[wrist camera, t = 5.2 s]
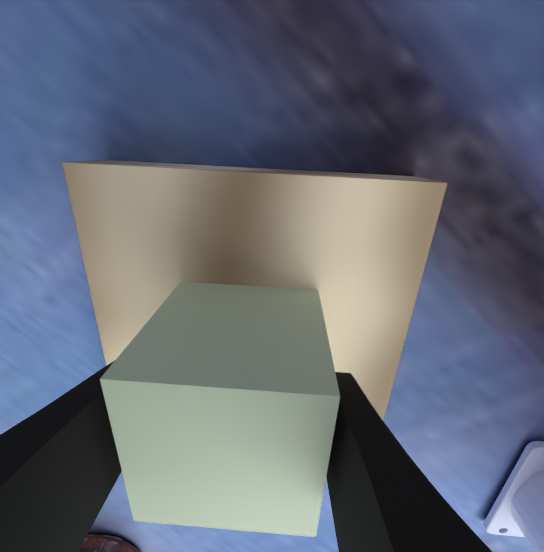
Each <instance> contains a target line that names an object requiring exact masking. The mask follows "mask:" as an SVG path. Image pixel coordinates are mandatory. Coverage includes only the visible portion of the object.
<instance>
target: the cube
mask: <svg viewBox="0 0 544 552" xmlns="http://www.w3.org/2000/svg"><path fill="white" fill-rule="evenodd" d="M100 382H101V386H102V391H103V395H104V399H105V403H106V407H107V411H108V415H109V420H110V424H111V428H112V432H113V436H114V440H115V445H116V449H117V453H118V457H119V461H120V465H121V470H122V474H123V478H124V482H125V486H126V490H127V494H128V499H129V503H130V507H131V511H132V515H133V519H134V521H141V522H152V523H163V524H175V525H186V526H197V527H208V528H220V529H231V530H242V531H253V532H265V533H276V534H287V535H298V536H310V537H316V533H317V527H318V521H319V516H320V510H321V504H322V498H323V493H324V487H325V481H326V476H327V470H328V464H329V458H330V453H331V447H332V441H333V435H334V430H335V424H336V418H337V412H338V407H339V401H340V393H339V388H338V383H337V378H336V373H335V369H334V364H333V359H332V354H331V349H330V344H329V340H328V335H327V330H326V325H325V320H324V315H323V311H322V306H321V301H320V296H319V291H318V290H310V289H294V288H278V287H261V286H245V285H229V284H213V283H196V282H180V283H179V284H178V285H177V287H176V288H175V289H174V290H173V291H172V293H171V294H170V295H169V296H168V297H167V299H166V300H165V301H164V302H163V303H162V305H161V306H160V307H159V308H158V309H157V311H156V312H155V313H154V314H153V316H152V317H151V318H150V319H149V320H148V322H147V323H146V324H145V325H144V326H143V328H142V329H141V330H140V331H139V332H138V334H137V335H136V336H135V337H134V338H133V340H132V341H131V342H130V343H129V344H128V346H127V347H126V348H125V349H124V350H123V352H122V353H121V354H120V355H119V356H118V358H117V359H116V360H115V361H114V362H113V364H112V365H111V366H110V367H109V368H108V370H107V371H106V372H105V373H104V374H103V376H102V377H101V378H100Z"/></svg>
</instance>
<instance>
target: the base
mask: <svg viewBox="0 0 544 552" xmlns="http://www.w3.org/2000/svg"><path fill="white" fill-rule="evenodd" d="M62 165H63V169H64V174H65V178H66V183H67V187H68V192H69V197H70V201H71V206H72V210H73V215H74V219H75V224H76V229H77V233H78V238H79V242H80V247H81V251H82V256H83V261H84V265H85V270H86V274H87V279H88V284H89V288H90V293H91V297H92V302H93V306H94V311H95V316H96V320H97V325H98V329H99V334H100V338H101V343H102V348H103V352H104V357H105V361H106V366H107V365H108V364H110V363H111V362H113V361H115V360H116V359H117V358H118V356H119V355H120V354H121V353H122V352H123V350H124V349H125V348H126V347H127V346H128V344H129V343H130V342H131V341H132V340H133V338H134V337H135V336H136V335H137V334H138V332H139V331H140V330H141V329H142V328H143V326H144V325H145V324H146V323H147V322H148V320H149V319H150V318H151V317H152V316H153V314H154V313H155V312H156V311H157V309H158V308H159V307H160V306H161V305H162V303H163V302H164V301H165V300H166V299H167V297H168V296H169V295H170V294H171V293H172V291H173V290H174V289H175V288H176V287H177V285H178V284H179V283H180V282H196V283H213V284H229V285H245V286H261V287H278V288H294V289H310V290H318V291H319V296H320V301H321V306H322V311H323V315H324V320H325V325H326V330H327V335H328V340H329V344H330V349H331V354H332V359H333V364H334V369H335V372H343V373H351V374H352V375H353V376H354V378H355V380H356V381H357V383H358V384H359V386H360V387H361V389H362V390H363V392H364V394H365V395H366V397H367V398H368V400H369V401H370V403H371V404H372V406H373V407H374V409H375V410H376V411H377V413H378V414H379V416H380V417H381V419H382V420H384V417H385V413H386V409H387V405H388V402H389V398H390V394H391V391H392V387H393V383H394V379H395V376H396V372H397V368H398V365H399V361H400V357H401V353H402V350H403V346H404V342H405V339H406V335H407V331H408V327H409V324H410V320H411V316H412V313H413V309H414V305H415V301H416V298H417V294H418V290H419V287H420V283H421V279H422V275H423V272H424V268H425V264H426V261H427V257H428V253H429V249H430V246H431V242H432V238H433V235H434V231H435V227H436V223H437V220H438V216H439V212H440V209H441V205H442V201H443V197H444V194H445V190H446V186H447V183H445V182H440V181H435V180H430V179H426V178H421V177H416V176H399V175H380V174H362V173H343V172H324V171H305V170H286V169H267V168H248V167H229V166H210V165H191V164H172V163H153V162H135V161H116V160H98V161H80V162H62Z"/></svg>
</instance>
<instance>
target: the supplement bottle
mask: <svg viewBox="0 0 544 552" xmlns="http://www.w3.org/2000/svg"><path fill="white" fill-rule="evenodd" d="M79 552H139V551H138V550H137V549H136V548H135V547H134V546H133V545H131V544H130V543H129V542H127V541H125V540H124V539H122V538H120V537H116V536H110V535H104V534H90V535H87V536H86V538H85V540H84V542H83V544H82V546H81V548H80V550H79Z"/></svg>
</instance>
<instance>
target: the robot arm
mask: <svg viewBox="0 0 544 552" xmlns="http://www.w3.org/2000/svg"><path fill="white" fill-rule="evenodd" d="M113 362H114V361H113ZM113 362H111V363H110V364H108V365H107V366H105V367H104V368H102V369H101V370H99V371H98V372H97V373H95V374H94V375H92V376H91V377H89V378H88V379H86V380H85V381H83V382H82V383H80V384H79V385H77V386H76V387H74V388H73V389H71V390H70V391H68V392H67V393H65V394H64V395H62V396H61V397H59V398H58V399H56V400H55V401H53V402H52V403H50V404H49V405H47V406H46V407H44V408H43V409H41V410H40V411H38V412H36V413H35V414H33V415H31V416H30V417H28V418H27V419H25V420H23V421H22V422H20V423H19V424H17V425H15V426H14V427H12V428H11V429H9V430H7V431H6V432H4V433H3V434H1V435H0V552H79V550H80V548H81V546H82V544H83V542H84V540H85V538H86V536H87V534H88V532H89V530H90V528H91V526H92V524H93V523H94V521H95V519H96V517H97V515H98V513H99V512H100V510H101V508H102V506H103V504H104V502H105V501H106V499H107V497H108V495H109V493H110V491H111V490H112V488H113V486H114V484H115V482H116V480H117V478H118V477H119V475H120V473H121V471H122V470H121V465H120V461H119V457H118V453H117V449H116V445H115V440H114V436H113V432H112V428H111V424H110V420H109V415H108V411H107V407H106V403H105V399H104V395H103V391H102V386H101V382H100V378H101V377H102V376H103V374H104V373H105V372H106V371H107V370H108V368H109V367H110V366H111V365H112V364H113ZM335 373H336V378H337V383H338V388H339V393H340V401H339V407H338V412H337V418H336V424H335V430H334V435H333V441H332V447H331V453H330V458H329V464H328V470H327V482H328V489H329V495H330V501H331V507H332V513H333V519H334V525H335V531H336V537H337V543H338V549H339V552H492V551H491V550H490V549H489V548H488V547H487V546H486V545H485V544H484V543H483V542H482V540H481V539H480V538H479V537H478V536H477V535H476V534H475V533H474V532H473V531H472V530H471V529H470V527H469V526H468V525H467V524H466V523H465V522H464V521H463V520H462V519H461V517H460V516H459V515H458V514H457V513H456V512H455V511H454V510H453V508H452V507H451V506H450V505H449V504H448V503H447V502H446V500H445V499H444V498H443V497H442V496H441V495H440V493H439V492H438V491H437V490H436V489H435V487H434V486H433V485H432V484H431V483H430V482H429V480H428V479H427V478H426V477H425V475H424V474H423V473H422V472H421V470H420V469H419V468H418V467H417V465H416V464H415V463H414V462H413V460H412V459H411V458H410V457H409V455H408V454H407V453H406V451H405V450H404V449H403V447H402V446H401V445H400V443H399V442H398V441H397V439H396V438H395V437H394V435H393V434H392V432H391V431H390V430H389V428H388V427H387V426H386V424H385V423H384V422H383V420H382V419H381V417H380V416H379V414H378V413H377V411H376V410H375V409H374V407H373V406H372V404H371V403H370V401H369V400H368V398H367V397H366V395H365V394H364V392H363V390H362V389H361V387H360V386H359V384H358V383H357V381H356V380H355V378H354V376H353V375H352V374H351V373H343V372H335ZM483 525H484V527H485V529H486V531H487V532H488V533H490V534H497V535H508V536H519V537H525V538H526V540H527V541H528V543H529V545H530V546H531V548H532V550H533V551H534V552H544V441H533V442H530V443H529V444H528V445H527V446H526V447H525V449H524V451H523V453H522V454H521V456H520V458H519V460H518V462H517V463H516V465H515V467H514V469H513V471H512V472H511V474H510V476H509V478H508V480H507V481H506V483H505V485H504V487H503V488H502V490H501V492H500V494H499V496H498V497H497V499H496V501H495V503H494V505H493V506H492V508H491V510H490V512H489V514H488V515H487V517H486V519H485V521H484V523H483Z"/></svg>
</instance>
